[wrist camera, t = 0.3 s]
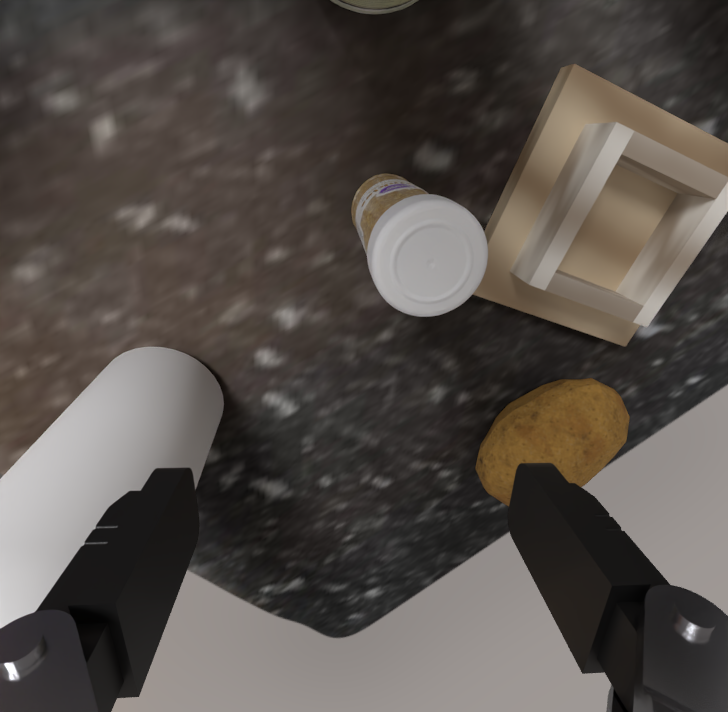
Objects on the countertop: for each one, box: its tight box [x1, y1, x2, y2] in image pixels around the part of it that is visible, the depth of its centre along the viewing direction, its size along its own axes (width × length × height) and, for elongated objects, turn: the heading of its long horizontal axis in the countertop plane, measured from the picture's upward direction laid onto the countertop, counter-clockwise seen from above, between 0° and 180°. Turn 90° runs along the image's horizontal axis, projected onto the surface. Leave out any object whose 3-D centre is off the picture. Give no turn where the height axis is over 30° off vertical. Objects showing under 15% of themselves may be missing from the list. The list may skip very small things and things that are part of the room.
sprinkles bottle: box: [351, 173, 488, 317], centre depth 22 cm, size 5×5×14 cm
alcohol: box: [0, 347, 224, 629], centre depth 19 cm, size 9×9×30 cm
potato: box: [475, 378, 630, 507], centre depth 34 cm, size 9×13×7 cm
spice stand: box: [473, 64, 728, 347], centre depth 27 cm, size 14×14×4 cm
